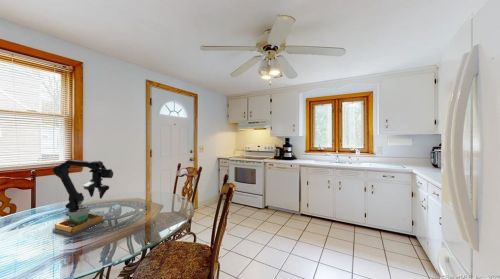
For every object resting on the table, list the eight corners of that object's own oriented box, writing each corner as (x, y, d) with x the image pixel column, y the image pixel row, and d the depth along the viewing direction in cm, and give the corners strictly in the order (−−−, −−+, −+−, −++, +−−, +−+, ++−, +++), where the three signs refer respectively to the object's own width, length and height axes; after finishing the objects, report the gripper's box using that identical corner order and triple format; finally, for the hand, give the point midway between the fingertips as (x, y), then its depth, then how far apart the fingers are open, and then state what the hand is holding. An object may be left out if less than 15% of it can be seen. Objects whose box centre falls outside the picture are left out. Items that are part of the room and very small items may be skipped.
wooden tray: (52, 232, 125) (52, 224, 125) (87, 218, 145) (87, 211, 145) (71, 237, 121) (71, 229, 121) (104, 222, 141) (104, 215, 141)
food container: (74, 229, 126) (75, 214, 126) (67, 227, 128) (68, 212, 127) (94, 221, 138) (94, 207, 138) (87, 219, 140) (88, 205, 139)
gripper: (76, 178, 147) (75, 199, 147) (95, 181, 142) (94, 203, 143) (91, 175, 157) (91, 194, 158) (110, 178, 153) (109, 198, 153)
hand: (96, 197), depth 153 cm, fingers open, 9 cm apart
